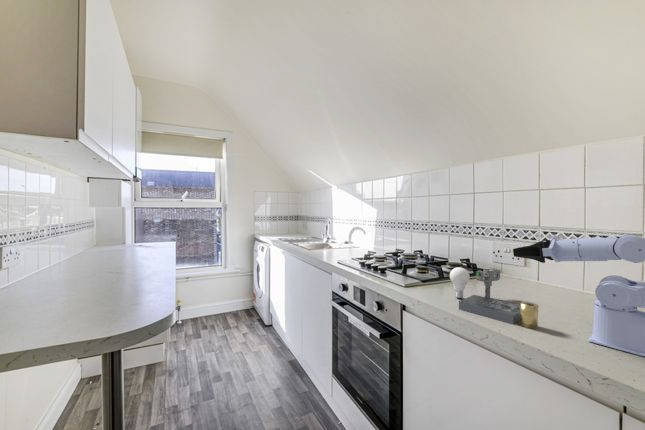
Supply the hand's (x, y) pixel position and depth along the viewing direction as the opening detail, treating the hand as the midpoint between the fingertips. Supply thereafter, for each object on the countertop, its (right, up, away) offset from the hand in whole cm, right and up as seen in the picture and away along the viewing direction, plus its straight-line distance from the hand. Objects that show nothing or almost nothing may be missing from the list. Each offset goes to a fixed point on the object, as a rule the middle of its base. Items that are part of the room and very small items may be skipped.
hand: (517, 251), depth 83 cm
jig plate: (-4, -19, +6) cm, 21 cm away
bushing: (0, -20, -5) cm, 20 cm away
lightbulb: (-8, -19, +19) cm, 28 cm away
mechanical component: (+3, -19, +20) cm, 28 cm away
